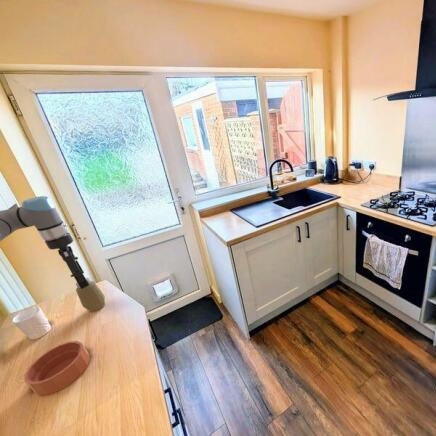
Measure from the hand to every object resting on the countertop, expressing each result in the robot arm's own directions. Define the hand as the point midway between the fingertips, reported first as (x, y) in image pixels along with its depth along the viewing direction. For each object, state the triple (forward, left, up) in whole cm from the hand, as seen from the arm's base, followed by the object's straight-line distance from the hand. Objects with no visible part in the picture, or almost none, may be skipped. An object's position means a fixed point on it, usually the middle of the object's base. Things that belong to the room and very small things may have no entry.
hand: (82, 280), depth 103 cm
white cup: (-2, -19, -15) cm, 24 cm away
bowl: (+29, -14, -15) cm, 35 cm away
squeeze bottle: (0, 0, -15) cm, 15 cm away
